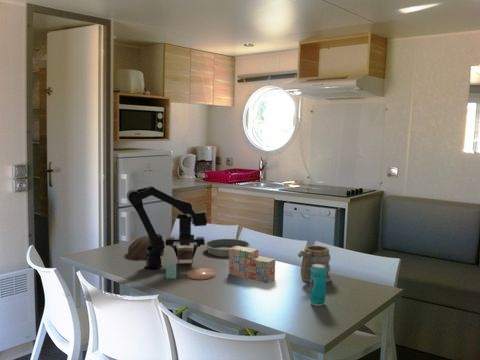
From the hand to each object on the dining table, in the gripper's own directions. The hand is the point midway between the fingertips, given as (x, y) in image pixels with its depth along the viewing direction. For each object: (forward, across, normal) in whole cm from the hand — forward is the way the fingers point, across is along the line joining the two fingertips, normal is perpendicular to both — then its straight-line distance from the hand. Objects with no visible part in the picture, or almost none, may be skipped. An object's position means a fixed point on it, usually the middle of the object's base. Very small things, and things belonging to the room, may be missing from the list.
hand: (185, 258), depth 229 cm
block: (+3, -6, -19) cm, 20 cm away
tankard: (+3, +55, -29) cm, 63 cm away
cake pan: (+3, +22, +23) cm, 33 cm away
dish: (+3, +7, -17) cm, 19 cm away
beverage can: (+3, +51, -56) cm, 76 cm away
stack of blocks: (+3, +30, -21) cm, 37 cm away
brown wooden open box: (+2, 0, 0) cm, 2 cm away
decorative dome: (+4, -21, +21) cm, 30 cm away
